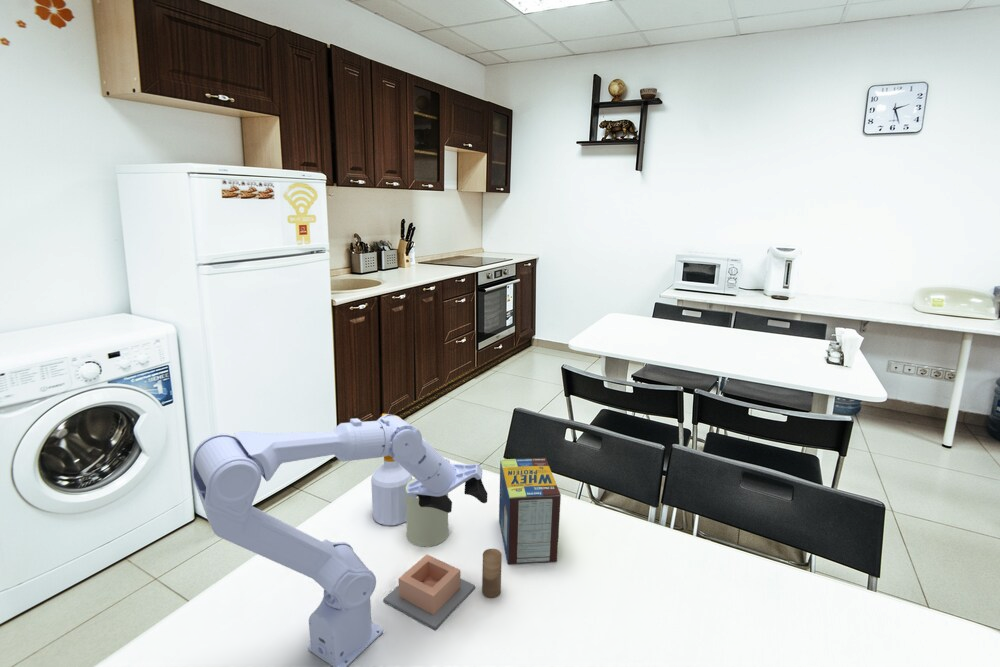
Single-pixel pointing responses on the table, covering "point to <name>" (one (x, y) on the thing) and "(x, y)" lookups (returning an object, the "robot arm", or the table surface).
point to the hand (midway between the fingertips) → (467, 502)
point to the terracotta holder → (429, 591)
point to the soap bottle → (390, 492)
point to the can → (425, 523)
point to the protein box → (529, 511)
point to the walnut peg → (491, 573)
